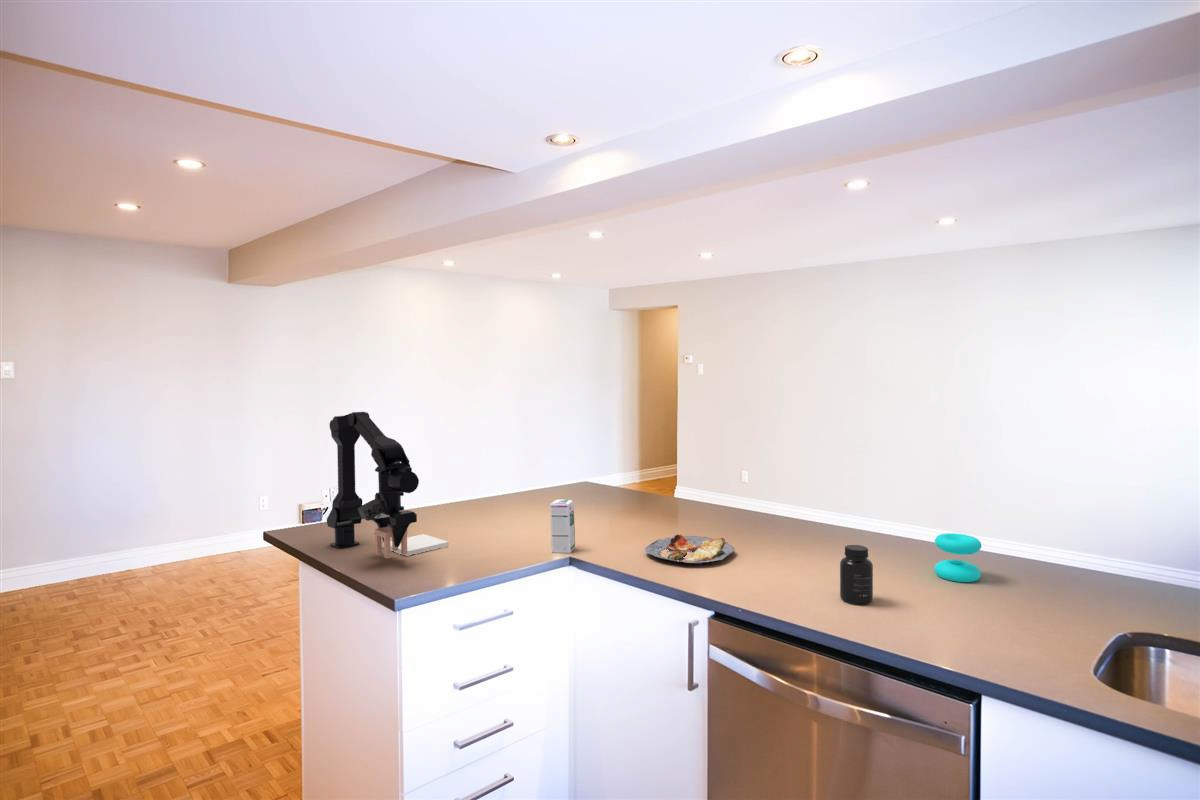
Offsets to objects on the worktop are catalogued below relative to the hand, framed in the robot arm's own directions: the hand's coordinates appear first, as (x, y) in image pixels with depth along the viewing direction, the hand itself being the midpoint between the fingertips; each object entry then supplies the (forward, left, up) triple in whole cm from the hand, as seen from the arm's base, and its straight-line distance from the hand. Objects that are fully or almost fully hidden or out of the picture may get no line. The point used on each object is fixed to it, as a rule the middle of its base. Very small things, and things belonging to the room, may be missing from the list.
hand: (391, 544), depth 177 cm
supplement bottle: (+107, +55, -5) cm, 120 cm away
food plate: (+58, +60, -5) cm, 84 cm away
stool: (0, 0, -3) cm, 3 cm away
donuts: (+119, +87, -5) cm, 147 cm away
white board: (-8, +12, -5) cm, 15 cm away
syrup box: (+28, +39, -5) cm, 48 cm away
